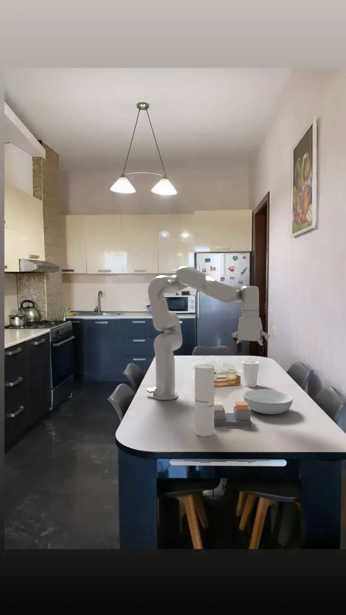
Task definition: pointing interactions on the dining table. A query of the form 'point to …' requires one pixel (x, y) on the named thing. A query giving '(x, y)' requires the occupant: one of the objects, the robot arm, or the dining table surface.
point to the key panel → (232, 418)
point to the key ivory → (218, 406)
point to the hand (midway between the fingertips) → (250, 353)
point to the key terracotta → (241, 406)
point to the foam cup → (250, 372)
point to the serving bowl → (268, 401)
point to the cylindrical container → (204, 399)
